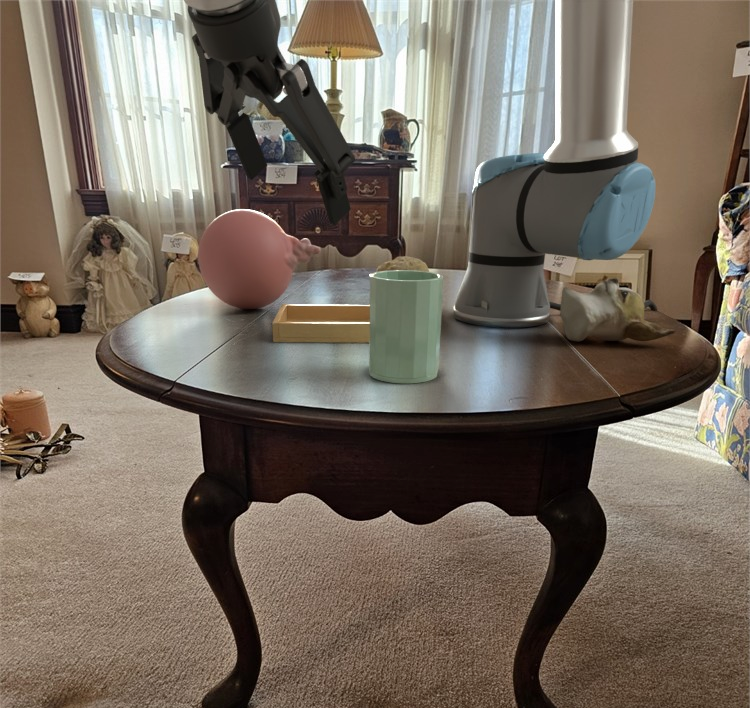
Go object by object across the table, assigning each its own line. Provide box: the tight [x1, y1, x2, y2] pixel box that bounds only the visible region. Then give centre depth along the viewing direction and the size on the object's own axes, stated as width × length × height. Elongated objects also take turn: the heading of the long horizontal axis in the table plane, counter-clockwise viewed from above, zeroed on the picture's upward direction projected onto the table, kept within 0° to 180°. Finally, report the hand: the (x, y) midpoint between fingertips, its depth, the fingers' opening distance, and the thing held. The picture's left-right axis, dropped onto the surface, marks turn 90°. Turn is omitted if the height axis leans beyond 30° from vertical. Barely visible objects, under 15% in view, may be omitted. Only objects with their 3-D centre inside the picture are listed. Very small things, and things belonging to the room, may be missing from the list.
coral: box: [376, 255, 430, 272], centre depth 115 cm, size 9×9×8 cm
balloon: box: [197, 208, 322, 310], centre depth 107 cm, size 15×20×15 cm
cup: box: [368, 270, 445, 384], centre depth 74 cm, size 8×8×11 cm
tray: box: [271, 304, 370, 344], centre depth 95 cm, size 18×14×3 cm
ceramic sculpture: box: [559, 277, 676, 342], centre depth 91 cm, size 11×9×15 cm
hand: (297, 193), depth 75 cm, fingers open, 13 cm apart
